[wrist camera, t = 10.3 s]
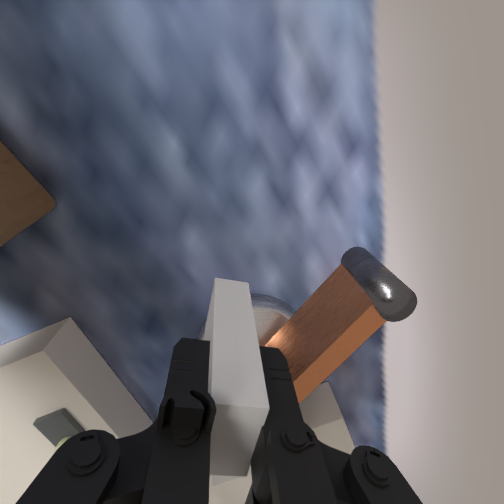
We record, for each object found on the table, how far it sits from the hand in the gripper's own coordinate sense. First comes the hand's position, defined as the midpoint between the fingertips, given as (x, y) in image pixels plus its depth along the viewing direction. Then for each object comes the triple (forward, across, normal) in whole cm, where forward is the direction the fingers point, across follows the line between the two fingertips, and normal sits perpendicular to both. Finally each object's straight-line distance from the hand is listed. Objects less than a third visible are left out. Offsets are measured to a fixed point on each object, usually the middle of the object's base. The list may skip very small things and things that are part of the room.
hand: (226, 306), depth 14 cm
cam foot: (+9, +5, -6) cm, 13 cm away
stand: (+10, -4, -18) cm, 21 cm away
